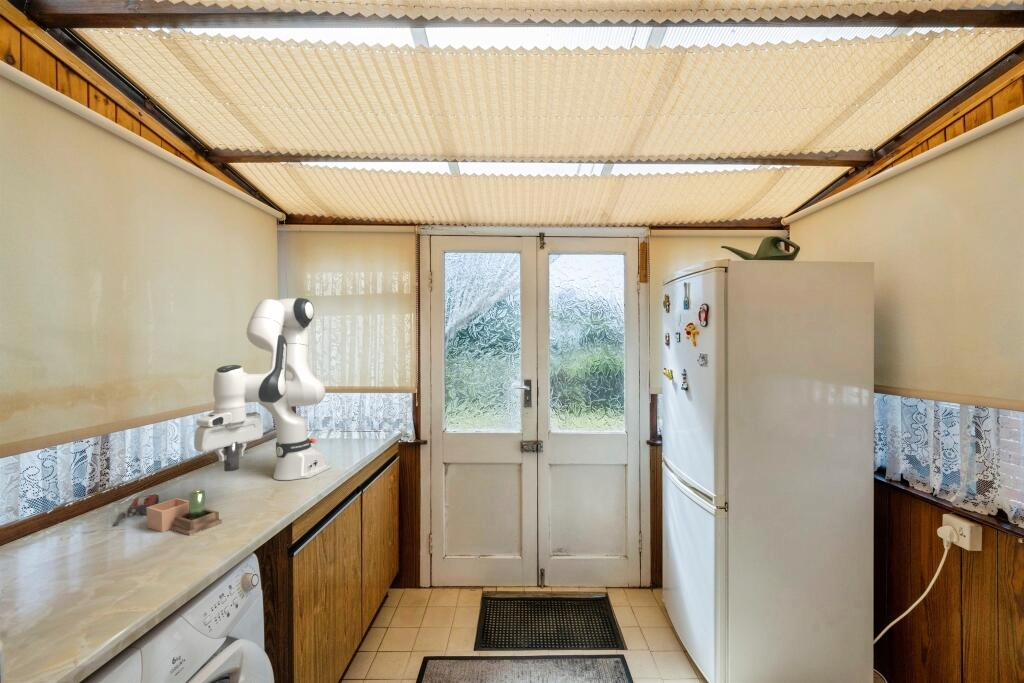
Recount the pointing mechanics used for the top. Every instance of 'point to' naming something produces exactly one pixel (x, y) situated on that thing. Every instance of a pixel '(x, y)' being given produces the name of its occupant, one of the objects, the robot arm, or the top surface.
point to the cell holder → (196, 522)
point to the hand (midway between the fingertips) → (231, 458)
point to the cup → (166, 513)
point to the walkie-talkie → (138, 506)
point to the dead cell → (231, 457)
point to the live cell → (196, 504)
